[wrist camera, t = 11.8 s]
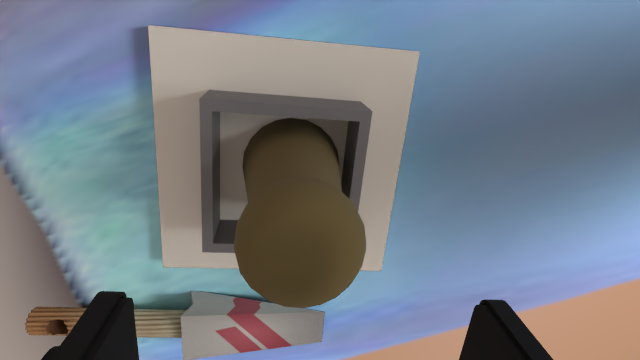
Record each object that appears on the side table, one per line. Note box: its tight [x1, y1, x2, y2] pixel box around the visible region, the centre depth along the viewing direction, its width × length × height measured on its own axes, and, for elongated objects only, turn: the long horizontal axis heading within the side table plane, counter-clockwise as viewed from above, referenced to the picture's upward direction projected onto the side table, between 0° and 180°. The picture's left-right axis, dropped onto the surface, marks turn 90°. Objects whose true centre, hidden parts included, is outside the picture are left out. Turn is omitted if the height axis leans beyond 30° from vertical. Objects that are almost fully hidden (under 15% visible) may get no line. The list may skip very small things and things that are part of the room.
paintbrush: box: [25, 291, 325, 360], centre depth 27 cm, size 4×3×20 cm
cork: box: [234, 118, 366, 308], centre depth 19 cm, size 6×6×11 cm
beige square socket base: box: [148, 25, 420, 271], centre depth 23 cm, size 15×15×4 cm
